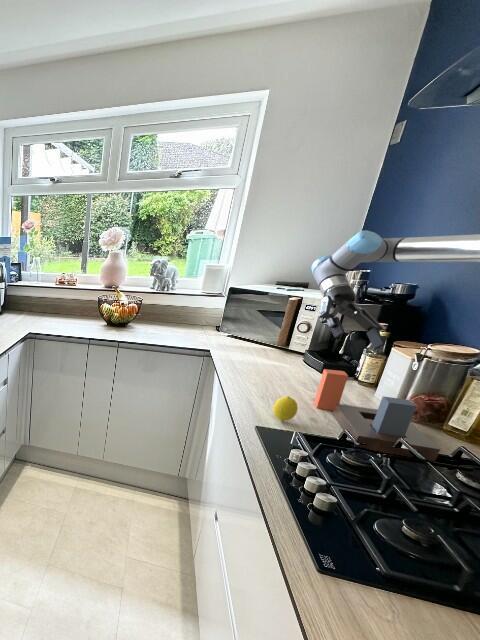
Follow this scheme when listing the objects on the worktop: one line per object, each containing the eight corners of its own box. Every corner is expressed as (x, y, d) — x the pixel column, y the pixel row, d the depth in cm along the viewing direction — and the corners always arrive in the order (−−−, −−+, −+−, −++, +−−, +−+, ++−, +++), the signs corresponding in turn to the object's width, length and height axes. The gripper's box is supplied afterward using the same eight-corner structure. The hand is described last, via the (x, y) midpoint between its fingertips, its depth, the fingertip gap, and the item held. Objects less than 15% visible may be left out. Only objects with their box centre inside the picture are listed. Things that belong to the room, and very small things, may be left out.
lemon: (279, 416, 123) (285, 392, 120) (297, 423, 118) (305, 398, 115) (265, 418, 121) (272, 394, 119) (284, 426, 116) (291, 400, 114)
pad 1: (333, 406, 130) (344, 371, 126) (336, 411, 126) (348, 375, 122) (313, 403, 132) (323, 368, 128) (316, 408, 128) (327, 373, 124)
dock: (397, 423, 117) (401, 412, 116) (434, 462, 97) (440, 449, 96) (331, 413, 124) (335, 403, 123) (354, 447, 104) (358, 435, 103)
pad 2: (392, 440, 107) (408, 399, 103) (399, 448, 103) (416, 406, 99) (367, 436, 110) (382, 396, 106) (373, 444, 106) (389, 402, 101)
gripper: (359, 309, 138) (383, 358, 126) (293, 291, 136) (311, 337, 125) (382, 294, 132) (409, 344, 120) (314, 274, 130) (334, 322, 119)
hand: (359, 341), depth 122 cm, fingers open, 13 cm apart
